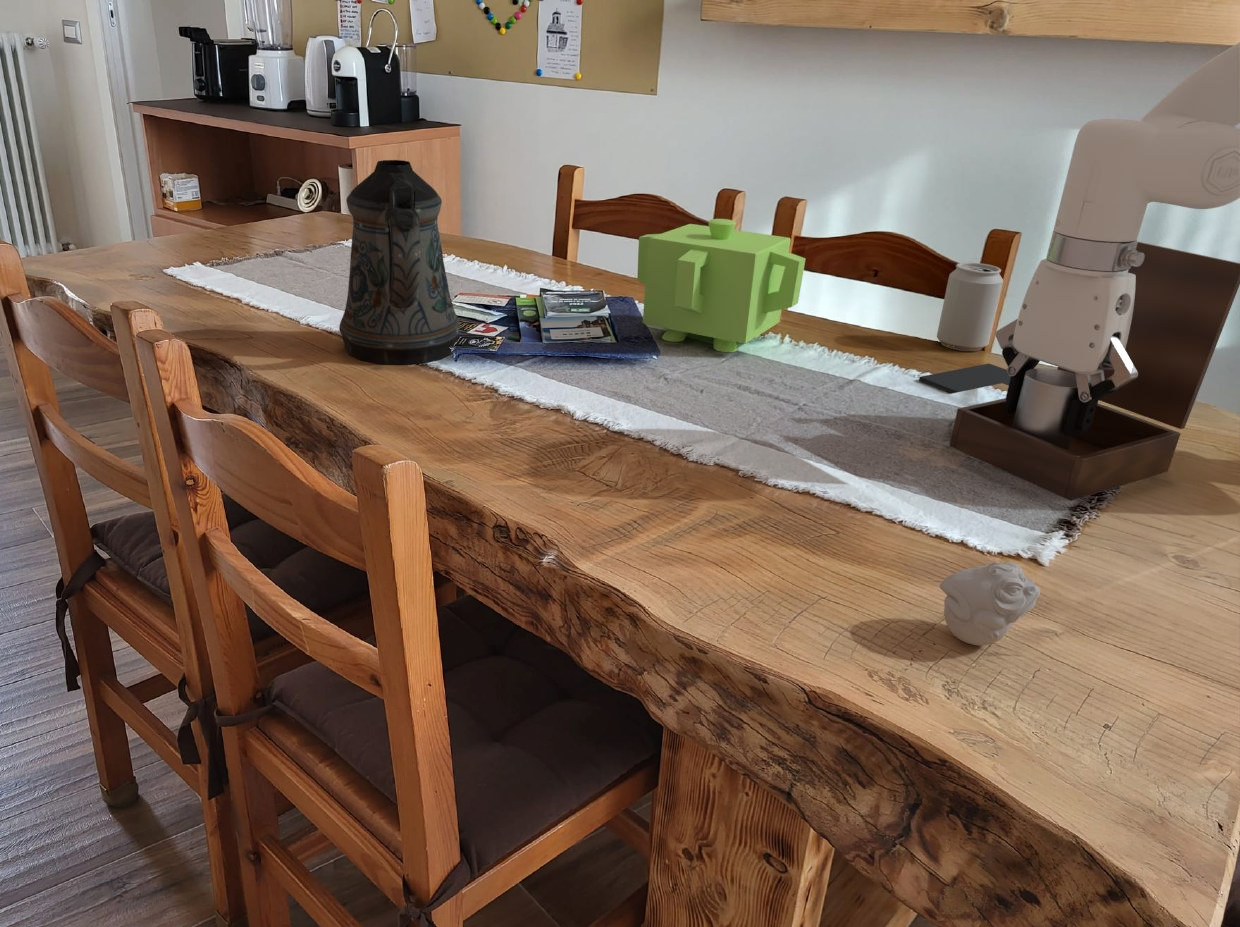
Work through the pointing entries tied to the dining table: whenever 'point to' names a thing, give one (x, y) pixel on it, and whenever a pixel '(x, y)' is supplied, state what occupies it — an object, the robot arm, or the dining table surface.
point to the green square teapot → (717, 282)
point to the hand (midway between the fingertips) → (1044, 420)
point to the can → (970, 306)
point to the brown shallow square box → (1092, 462)
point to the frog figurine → (987, 601)
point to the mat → (968, 378)
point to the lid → (1173, 330)
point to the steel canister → (1046, 405)
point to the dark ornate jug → (397, 272)
